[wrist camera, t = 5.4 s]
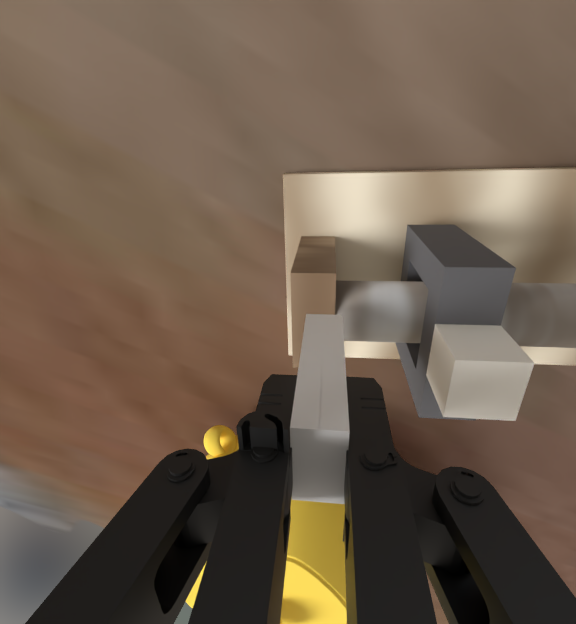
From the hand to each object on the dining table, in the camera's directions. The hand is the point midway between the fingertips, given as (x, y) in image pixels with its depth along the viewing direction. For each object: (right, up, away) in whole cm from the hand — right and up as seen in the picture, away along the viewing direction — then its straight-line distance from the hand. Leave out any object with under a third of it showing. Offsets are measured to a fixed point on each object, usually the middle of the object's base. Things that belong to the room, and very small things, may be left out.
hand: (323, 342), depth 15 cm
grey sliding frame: (+6, +3, +5) cm, 9 cm away
